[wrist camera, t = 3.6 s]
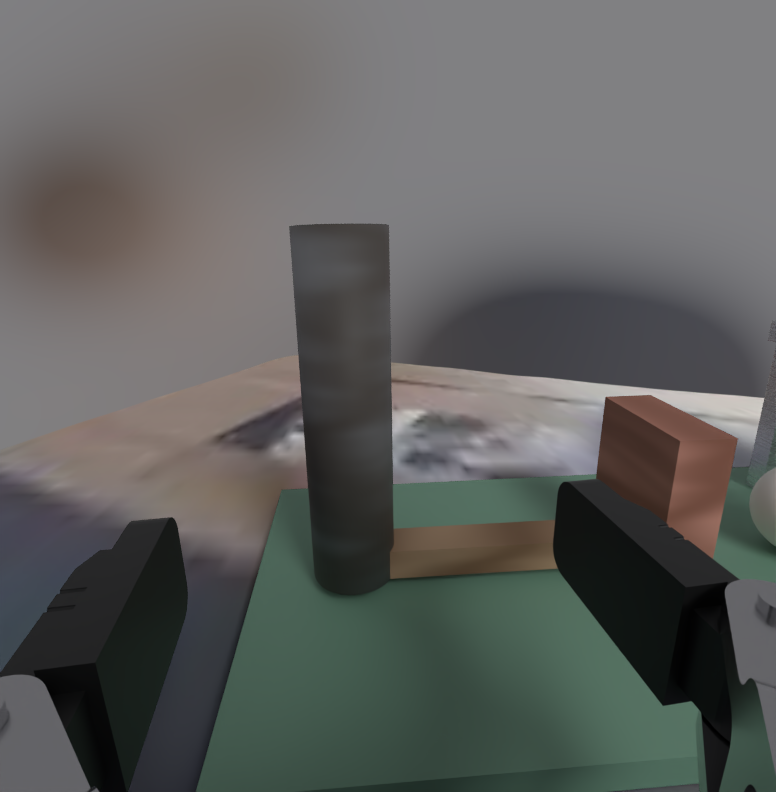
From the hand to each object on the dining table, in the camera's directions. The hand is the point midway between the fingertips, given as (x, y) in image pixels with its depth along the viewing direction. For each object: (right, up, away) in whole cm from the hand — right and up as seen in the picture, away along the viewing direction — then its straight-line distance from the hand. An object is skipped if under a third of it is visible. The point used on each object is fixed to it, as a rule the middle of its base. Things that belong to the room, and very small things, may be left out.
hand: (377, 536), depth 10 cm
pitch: (+12, -5, +11) cm, 17 cm away
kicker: (+5, -4, +10) cm, 11 cm away
